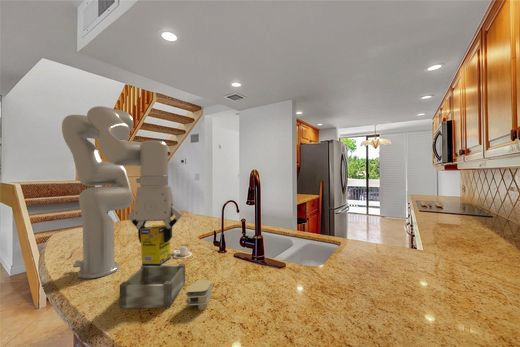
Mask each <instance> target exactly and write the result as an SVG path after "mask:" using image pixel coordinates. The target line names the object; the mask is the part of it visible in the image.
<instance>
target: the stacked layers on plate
mask: <svg viewBox="0 0 520 347" xmlns="http://www.w3.org/2000/svg"><path fill="white" fill-rule="evenodd" d="M212 287H213V284H212V280H208V279H198V280H197V281H195V282H193V283H192V284H190V285H189V286H187V287H186V288H185V290H186V291H187V292H186V293H185V296H186V297H187V298H186V299H187V300H186V301H185V303H186V304H187V305H188V306H197V309H198V310H200V311H201V310H205V309H207V308H208V303H209V302H210V300H211V296H212V295H213V291H211V289H212Z"/></svg>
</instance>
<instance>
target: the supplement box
mask: <svg viewBox="0 0 520 347" xmlns="http://www.w3.org/2000/svg"><path fill="white" fill-rule="evenodd" d="M145 227H146V228H143V229H140V234H141V243H140V252H141V266H161V265H164V263H166V262H168V261H170V260H171V239H170V240H169V241H168V242H165V231H164V230H165V229H166V226H165V224H164V223H163V224H151V225H149V226H145Z"/></svg>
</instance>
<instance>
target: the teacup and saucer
mask: <svg viewBox="0 0 520 347" xmlns="http://www.w3.org/2000/svg"><path fill="white" fill-rule="evenodd" d="M187 254H189V255H187ZM172 255H173V258H175V259H180V257H178V256H181V259H187V258H190V257H191V256H192V255H193V252H191V251H189V250H188V246H187V245H180V246H179V249H175V250H173V251H172ZM186 255H187V256H186Z"/></svg>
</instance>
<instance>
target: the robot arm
mask: <svg viewBox="0 0 520 347" xmlns="http://www.w3.org/2000/svg"><path fill="white" fill-rule="evenodd" d="M133 128H134V119H133V117H132V115H131V114H130V113H129V112H127V111H124V110H119V109H116V108H112V107H111V108H110V107H108V106H102V105H101V106H99V105H97V106H94V107H91V108H90V109H89V110H88V111H87V112H86V115H84V114H69V115H66V116H65V117H64V119H63V120H62V123H61V132H62V137H63V140H64V142H65V143H66V145H67V147H68V149H69V150H70V153H71V155H72V158H73V162H74V165H75V170H76V174H77V177H78V180H79V182H80V183H81V184H82V185H84V186H87V187H88V188H86V189H83V190H82V191H80V194H79V196H78V203H79V209H80V212H81V221H82V259H76V261H75V262H74V263H73V268H79V271H78V272H77V277H78V278H80V279H95V278H96V279H97V278H100V277H102V278H103V277H105V276H108V275H111V274H112V273H114V272H116V271H118V270H119V268H120V263H119V262H117V261H115V224H114V223H115V222H114V220H113V219H112V217H111V216H110V215H109V214H108V213H107V212H110V211H116V210H117V211H118V210H124V209H127V208H129V207H131V206H132V205H133V203H134V208H133V210H131V212H130V213H129V214H128V215H127V219H128V220H130V221H131V224H133V225H134V226H135V228H136V229H137V231H138V232H137V238H138V240H139V243H140V244H141V234H140V229H143V228H146V227H147V226H146V224H147V222H159V221H160V222H163V224H165V226H166V229H165V230H164V231H165V242H168V241H169V240H170V241H171V239H172V238H173V227H174V226H175V224H176V223H178V222H179V220H180V219H181V218H182V216H183V213H181V212H180V211H179V210H178V209H177V208H176V207H174V198H173V193H172V188H171V186H170V185H169V165H168V164H169V160H168V159H169V157H168V156H169V155H168V154H169V153H168V151H169V149H168V144H167V143H166V142H165V141H162V140H155V139H154V140H152V139H151V140H149V139H148V140H143V141H142V142H141V141H140V142H139V141H132V140H128V139H129V137H130V136H131V131H132V130H133ZM89 139H91V140H92V139H93V140H98V147H97V146H96V145H95V144H94V143H92V142H91V141H90V140H89ZM100 153H101V154H102V155H103V156H104V158H105V159H106V160H107V161H104V160H103V159H102V157H101V154H100ZM125 166H129V167H130V166H131V167H133V166H134V167H135V166H136V167H140V172H139V173H140V176H139V178H136V180H135V182H136V184H137V183H138V184H139V185H140V186H138V187H137V188H136V192H135V193H136V194H135V201H134V193H133V188H132V187H131V183H130V180H129V176H128V173H127V170H126V168H125ZM91 186H92V187H91ZM133 201H134V202H133ZM173 216H174V218H173V219H172V217H173Z"/></svg>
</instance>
